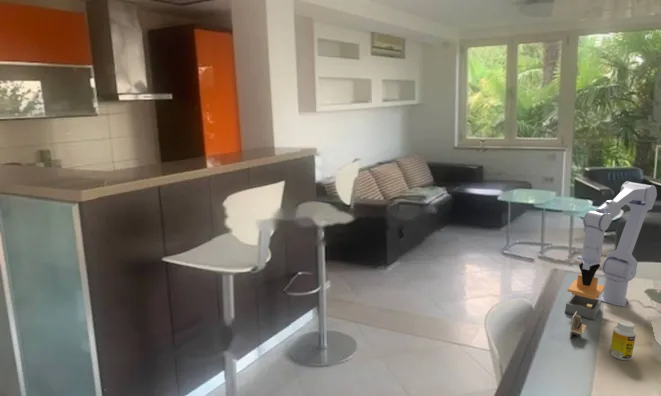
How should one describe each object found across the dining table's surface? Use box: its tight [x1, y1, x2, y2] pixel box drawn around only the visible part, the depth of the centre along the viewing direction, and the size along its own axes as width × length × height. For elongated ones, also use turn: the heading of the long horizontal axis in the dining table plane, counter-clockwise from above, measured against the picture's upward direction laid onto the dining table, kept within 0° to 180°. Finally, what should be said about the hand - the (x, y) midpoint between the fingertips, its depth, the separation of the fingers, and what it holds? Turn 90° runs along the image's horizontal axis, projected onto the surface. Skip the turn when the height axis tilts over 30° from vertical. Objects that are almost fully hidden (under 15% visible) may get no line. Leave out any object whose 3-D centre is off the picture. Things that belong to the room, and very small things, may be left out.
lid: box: [567, 273, 605, 299], centre depth 172 cm, size 12×9×6 cm
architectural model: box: [569, 311, 587, 339], centre depth 154 cm, size 3×7×7 cm, turn 144°
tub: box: [564, 294, 603, 322], centre depth 174 cm, size 12×9×4 cm
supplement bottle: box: [609, 319, 637, 361], centre depth 143 cm, size 6×6×10 cm
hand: (586, 284), depth 172 cm, fingers closed on lid
